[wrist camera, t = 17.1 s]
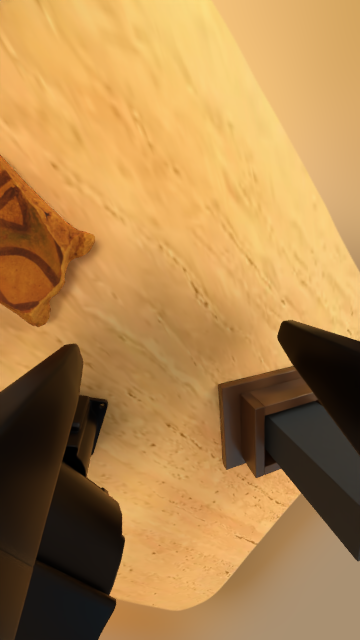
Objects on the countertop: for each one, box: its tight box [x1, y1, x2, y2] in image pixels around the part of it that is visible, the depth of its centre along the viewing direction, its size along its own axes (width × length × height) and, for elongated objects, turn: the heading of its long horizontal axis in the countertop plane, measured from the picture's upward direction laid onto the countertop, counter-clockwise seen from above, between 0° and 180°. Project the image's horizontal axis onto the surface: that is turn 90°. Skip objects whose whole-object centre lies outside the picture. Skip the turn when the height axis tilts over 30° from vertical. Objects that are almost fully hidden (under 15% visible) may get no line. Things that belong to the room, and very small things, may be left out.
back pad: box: [264, 401, 360, 561], centre depth 20 cm, size 7×5×12 cm
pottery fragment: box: [0, 155, 95, 327], centre depth 14 cm, size 10×5×10 cm
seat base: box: [219, 366, 322, 478], centre depth 25 cm, size 16×12×4 cm
